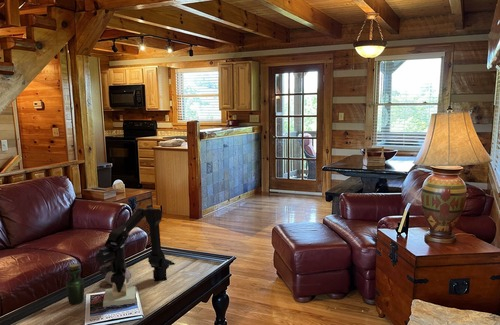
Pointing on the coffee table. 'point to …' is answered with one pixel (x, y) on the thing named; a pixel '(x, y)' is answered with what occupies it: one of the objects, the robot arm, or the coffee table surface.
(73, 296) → the potion bottle
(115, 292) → the birch cube
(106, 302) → the sage base block
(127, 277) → the sea urchin shell
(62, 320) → the coffee table surface
